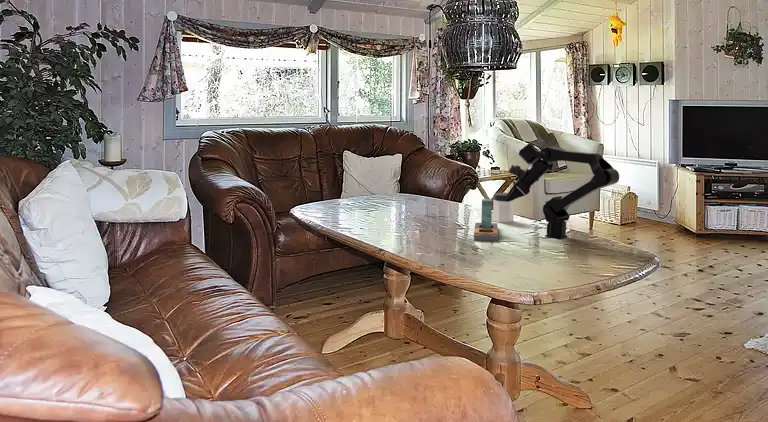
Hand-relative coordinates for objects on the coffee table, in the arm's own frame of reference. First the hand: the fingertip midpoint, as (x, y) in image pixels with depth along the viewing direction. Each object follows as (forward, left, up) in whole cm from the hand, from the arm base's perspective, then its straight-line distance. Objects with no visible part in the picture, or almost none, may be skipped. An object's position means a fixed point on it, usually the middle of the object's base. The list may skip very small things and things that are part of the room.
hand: (506, 199), depth 257 cm
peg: (+6, +4, -13) cm, 15 cm away
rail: (+3, +8, -13) cm, 16 cm away
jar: (+15, -20, -14) cm, 28 cm away
